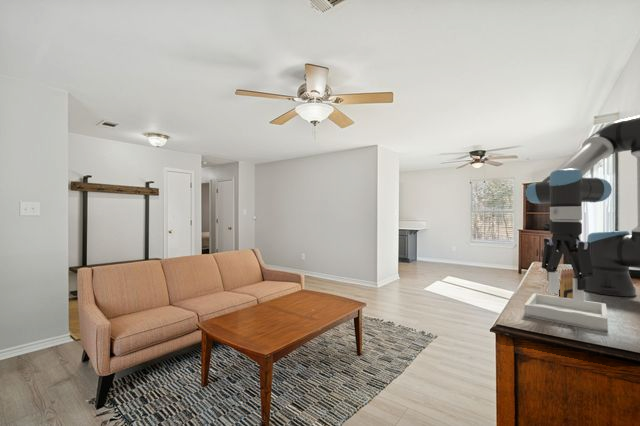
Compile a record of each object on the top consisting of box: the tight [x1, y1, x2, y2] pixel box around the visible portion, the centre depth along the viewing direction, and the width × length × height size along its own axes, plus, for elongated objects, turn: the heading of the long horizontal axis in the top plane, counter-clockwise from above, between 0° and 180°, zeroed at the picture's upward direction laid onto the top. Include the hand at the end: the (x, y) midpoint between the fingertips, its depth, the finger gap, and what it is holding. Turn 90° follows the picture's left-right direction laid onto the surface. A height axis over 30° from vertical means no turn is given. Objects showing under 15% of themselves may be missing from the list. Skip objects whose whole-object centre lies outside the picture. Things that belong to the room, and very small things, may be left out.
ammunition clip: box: [558, 267, 575, 299], centre depth 104 cm, size 11×2×12 cm, turn 116°
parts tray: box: [523, 292, 609, 333], centre depth 91 cm, size 18×18×4 cm
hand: (565, 296), depth 91 cm, fingers open, 8 cm apart
